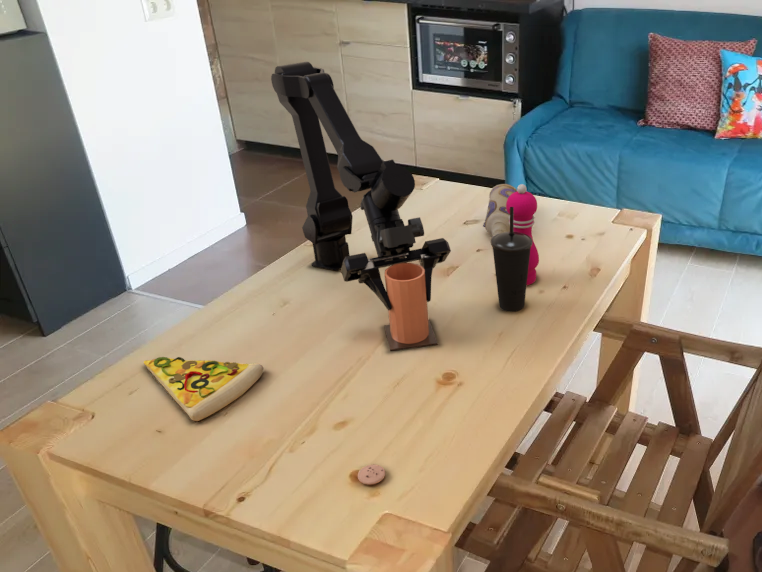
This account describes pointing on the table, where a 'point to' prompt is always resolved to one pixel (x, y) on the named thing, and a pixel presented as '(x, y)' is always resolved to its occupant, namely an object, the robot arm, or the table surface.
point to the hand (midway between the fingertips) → (409, 305)
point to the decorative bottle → (498, 210)
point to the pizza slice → (203, 382)
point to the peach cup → (407, 302)
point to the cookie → (371, 474)
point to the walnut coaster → (400, 346)
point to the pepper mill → (525, 223)
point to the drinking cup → (511, 266)
